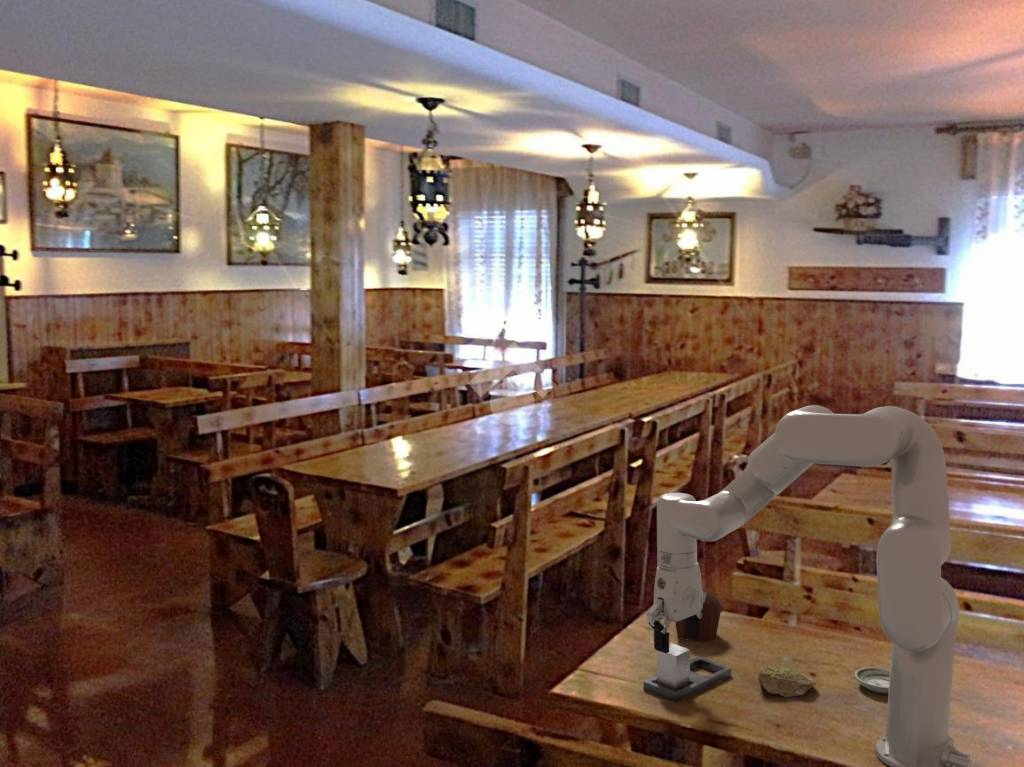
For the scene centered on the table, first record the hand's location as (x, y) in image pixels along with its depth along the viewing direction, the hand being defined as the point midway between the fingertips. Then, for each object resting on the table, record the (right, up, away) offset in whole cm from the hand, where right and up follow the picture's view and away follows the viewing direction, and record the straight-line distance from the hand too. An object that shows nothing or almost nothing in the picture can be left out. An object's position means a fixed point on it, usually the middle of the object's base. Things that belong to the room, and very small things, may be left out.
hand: (677, 644), depth 186 cm
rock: (+22, -10, +3) cm, 24 cm away
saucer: (+40, -10, +3) cm, 42 cm away
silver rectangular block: (-1, -9, +2) cm, 9 cm away
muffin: (+10, -6, +30) cm, 32 cm away
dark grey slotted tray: (+3, -9, +5) cm, 11 cm away
